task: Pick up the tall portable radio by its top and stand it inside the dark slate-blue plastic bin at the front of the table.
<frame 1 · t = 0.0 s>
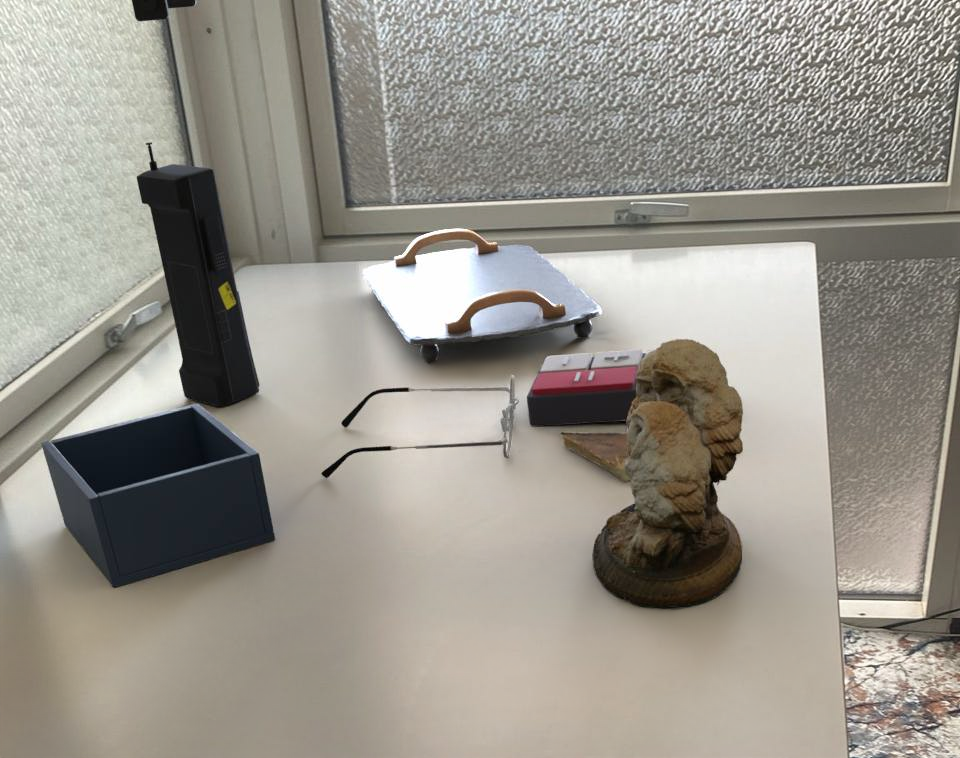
hand: (167, 13, 130), 35 cm above the table, tool pointing down, fingers open, 9 cm apart
owl figurine: (666, 559, 107), on the table
bin: (167, 532, 119), on the table
red gray box: (610, 408, 135), on the table
serving tray: (476, 314, 164), on the table
eyeglasses: (426, 448, 130), on the table
portable radio: (226, 397, 147), on the table
shard: (615, 467, 123), on the table
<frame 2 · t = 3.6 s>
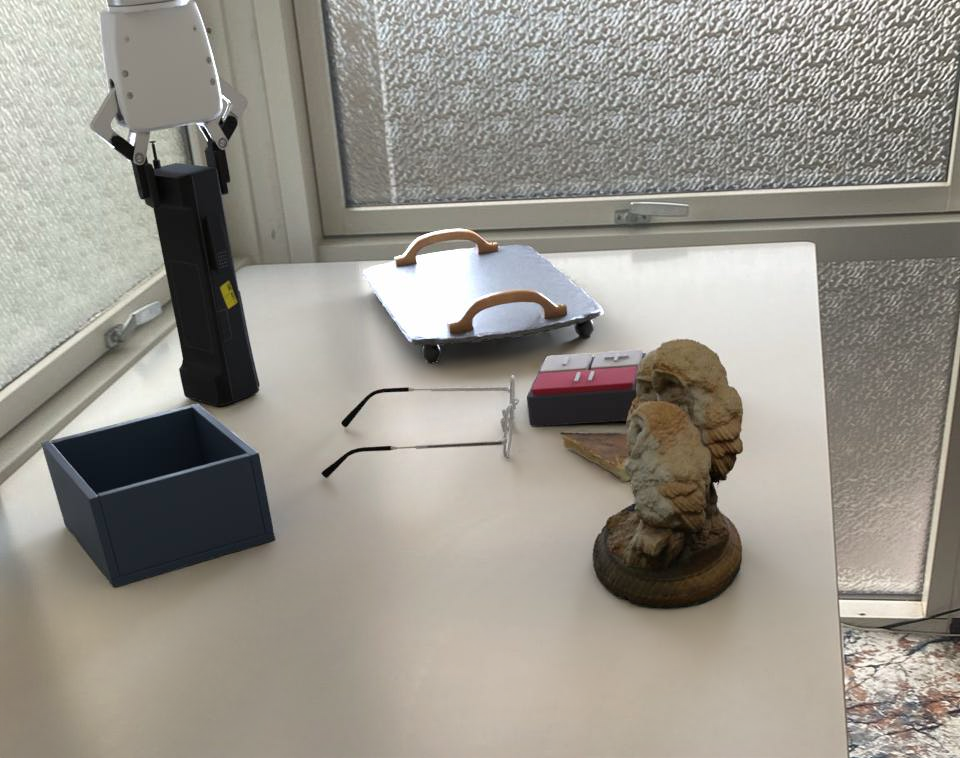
hand: (186, 197, 134), 20 cm above the table, tool pointing down, fingers closed on portable radio, 6 cm apart
portable radio: (226, 397, 147), on the table, touching gripper
everything else where it was.
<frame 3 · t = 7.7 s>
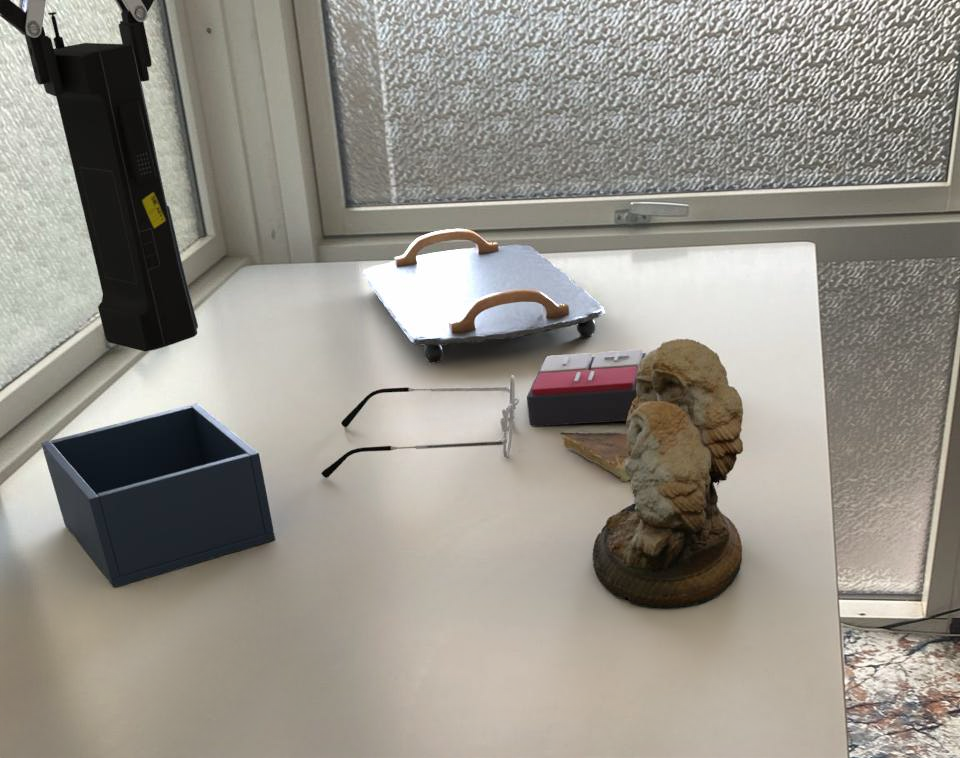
hand: (97, 84, 107), 34 cm above the table, tool pointing down, fingers closed on portable radio, 6 cm apart
portable radio: (157, 341, 119), point 13 cm above the table, touching gripper
everything else where it was.
when the fingers open (21 cm above the table, at t = 12.1 s): portable radio stays where it is, resting on bin.
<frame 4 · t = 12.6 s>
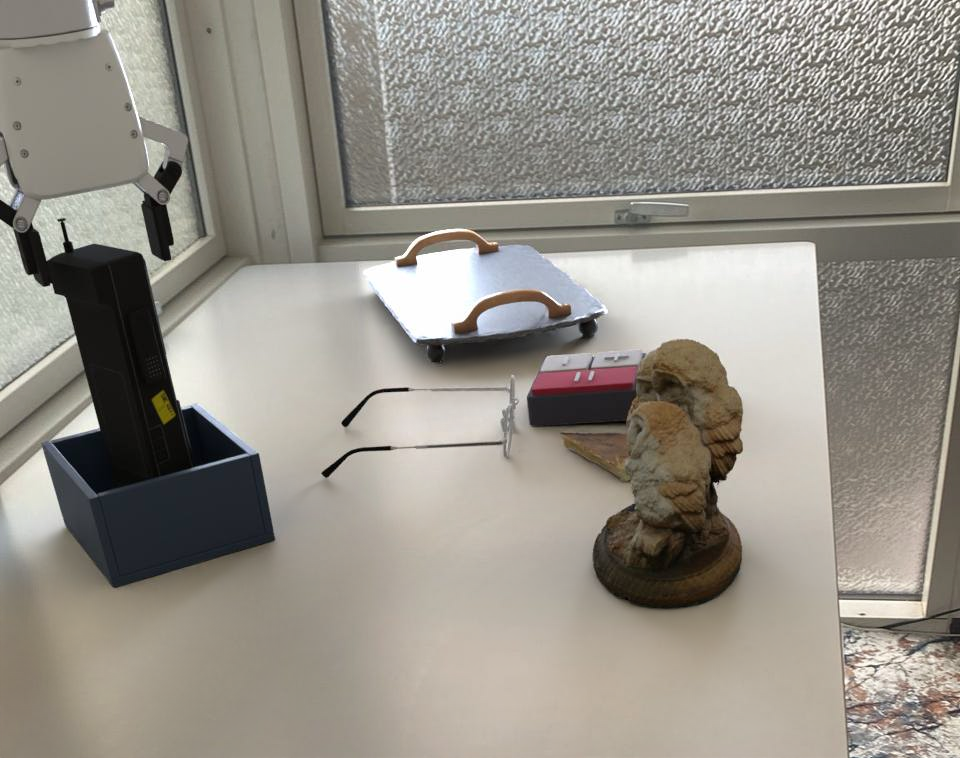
hand: (103, 270, 105), 22 cm above the table, tool pointing down, fingers open, 9 cm apart
portable radio: (167, 525, 119), point 1 cm above the table, touching bin
everything else where it was.
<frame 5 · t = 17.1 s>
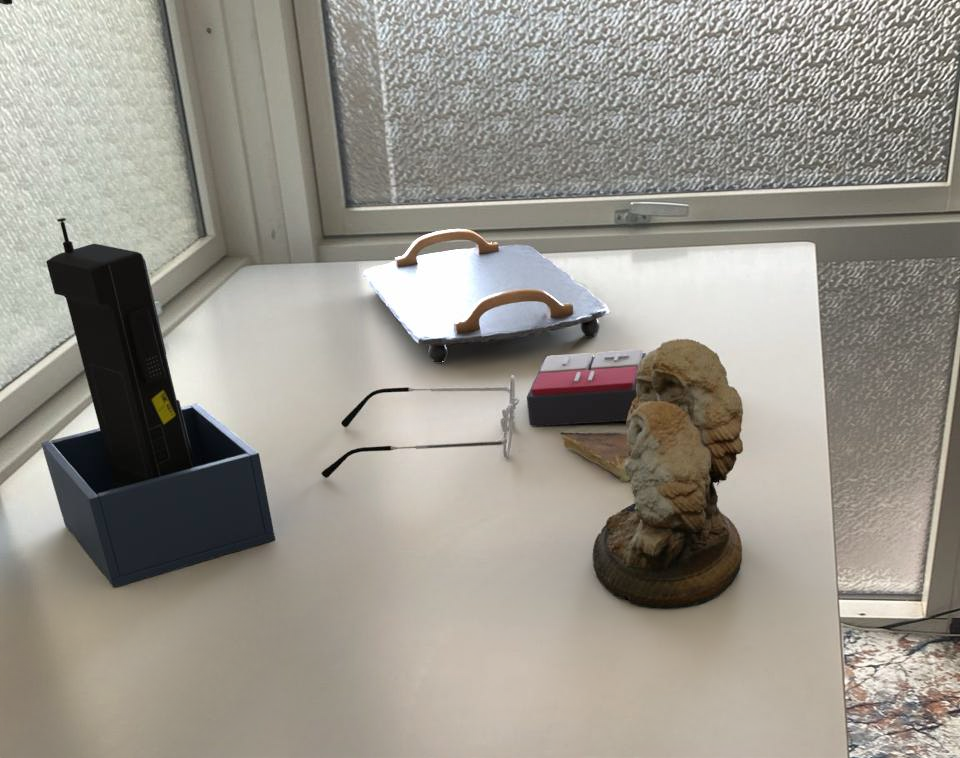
nothing on the table moved.
at the end: portable radio inside the target area in the bin (0.2 cm from its centre), point 0.6 cm above the bin's base; the gripper is holding nothing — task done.
